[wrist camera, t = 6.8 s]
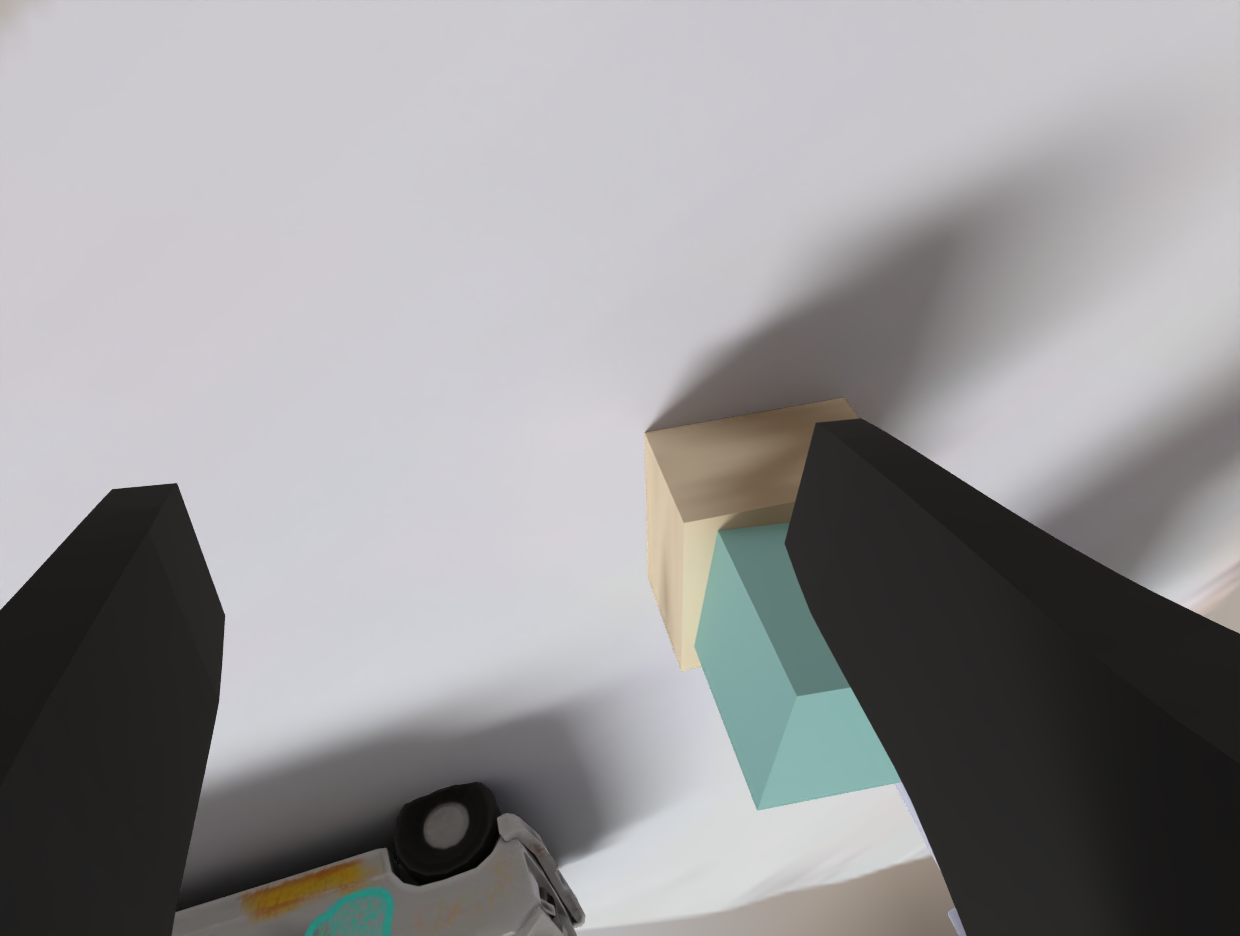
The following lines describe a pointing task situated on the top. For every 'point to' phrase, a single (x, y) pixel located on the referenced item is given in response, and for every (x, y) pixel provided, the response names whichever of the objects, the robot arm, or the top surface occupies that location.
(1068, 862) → the robot arm
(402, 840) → the toy car
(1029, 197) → the top surface
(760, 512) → the beech block
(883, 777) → the teal block
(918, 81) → the top surface
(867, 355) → the top surface
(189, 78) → the top surface
